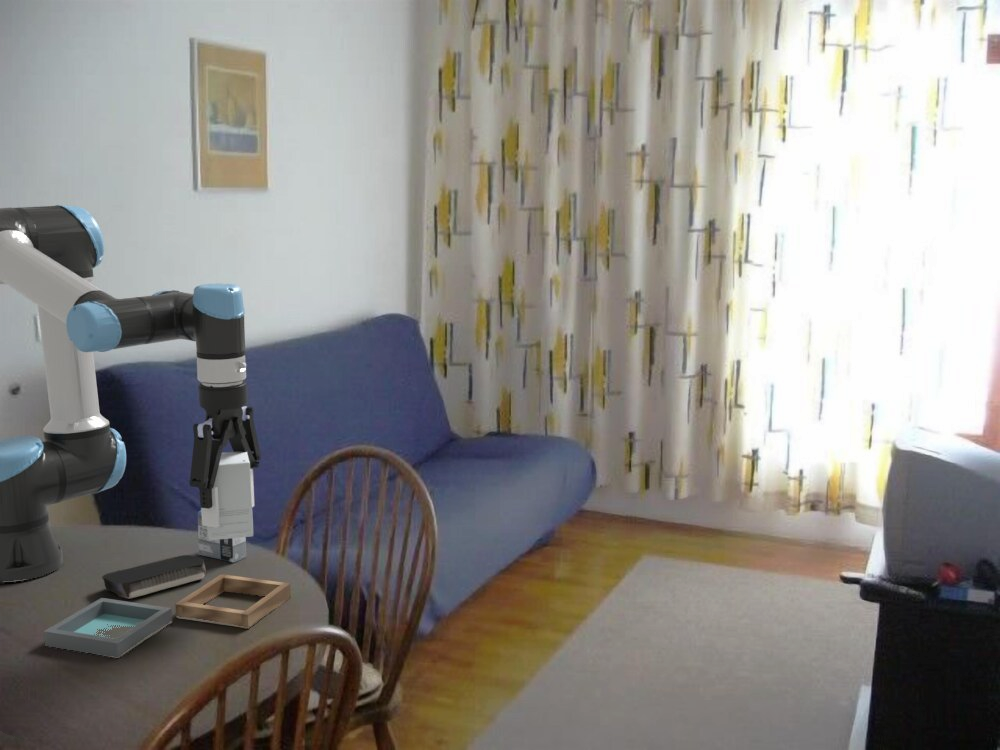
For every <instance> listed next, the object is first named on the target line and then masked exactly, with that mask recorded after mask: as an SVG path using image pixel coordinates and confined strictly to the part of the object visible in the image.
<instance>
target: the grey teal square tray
mask: <svg viewBox="0 0 1000 750" xmlns="http://www.w3.org/2000/svg"><path fill="white" fill-rule="evenodd" d="M170 621H172V622H173V612H172V607H166V606H160V605H153V604H145V603H138V602H132V601H127V600H126V601H125V600H121V599H120V600H119V599H113V598H107V597H106V598H105V597H100V598H99V599H97V600H95V601H93V602H91V603H90V604H88V605H87V606H85V607H83V608H81V609H80V610H78V611H76V612H74V613H73V614H71V615H70V616H67V617H66V618H63V619H62V620H61V621H59V622H57V623H56V624H54V625H52V626H50V627H47V629H45V630H44V631H43V638H44V647H45V646H49V647H48V648H51V647H56V648H55V649H57V648H62V649H61V650H63V649H67V650H66V651H69V650H74V651H73V652H75V651H80V652H79V653H81V652H88V653H92V654H100V655H106V656H114V657H119V656H121V655H122V654H123V653H124V652H126V651H127V650H128V649H130V648H131V647H133V646H134V645H136V644H137V643H138V642H140V641H141V640H143V639H144V638H145V637H147V636H148V635H150V634H151V633H153V632H155V631H157V630H158V629H160V628H161V627H163V626H164V625H166V624H168V623H169V622H170ZM136 622H137V623H138V622H139V623H140V622H141V623H140V624H138V625H137V624H136V625H137V626H136V625H135V623H136ZM107 624H108V625H107ZM111 625H112V626H113V625H114V626H115V625H116V627H117V625H118V627H119V625H120V627H121V626H122V627H123V626H124V627H125V626H126V627H127V626H128V627H129V626H130V627H131V626H132V627H133V626H134V628H132V629H130V630H129V631H127V632H126V633H124V634H123V635H121V636H120V637H118V638H116V639H114V638H110V637H109V638H108V637H105V636H106V635H105V636H104V635H103V634H102V633H103V631H102V633H101V634H99V636H97V635H98V634H97V633H98V632H99V631H98V630H99V629H100V630H101V629H102V630H103V629H104V628H105V629H106V628H107V629H106V631H107V630H108V629H109V630H110V629H111V630H112V626H111ZM108 626H109V627H108ZM110 626H111V627H110ZM114 626H113V628H114ZM116 627H115V628H116ZM118 627H117V628H118ZM120 627H119V628H120ZM97 629H98V630H97ZM105 629H104V631H105ZM109 630H108V631H109ZM97 631H98V632H97ZM96 632H97V633H96ZM100 632H101V631H100ZM104 633H105V632H104ZM94 634H95V635H94ZM96 634H97V635H96ZM100 635H101V636H100ZM102 635H103V636H102ZM107 636H108V635H107ZM109 636H110V635H109ZM92 654H91V655H92Z"/></svg>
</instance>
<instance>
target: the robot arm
mask: <svg viewBox="0 0 1000 750" xmlns="http://www.w3.org/2000/svg"><path fill="white" fill-rule="evenodd" d="M104 242H105V241H104V237H103V233H102V231H101V228H100V226H99V224H98V222H97V220H96V219H95V218H94V217H93V216H92V214H91V213H90V212H89V211H87V210H86V209H85V208H83V207H80V206H76V205H60V204H57V205H46V206H45V205H43V206H41V205H40V206H27V207H26V206H22V207H21V206H20V207H1V208H0V285H8V287H11V288H12V289H13V290H15V291H16V292H18V293H19V294H21V295H22V296H23V297H25V298H27V299H28V300H29V301H31V302H33V303H34V304H36V305H37V311H38V319H39V327H40V335H41V344H42V346H41V347H42V352H43V353H42V355H43V363H44V369H45V370H44V371H45V380H46V389H47V395H48V396H47V398H48V406H49V413H50V420H49V421H48V422H47V423H46V425H45V426H44V427H43V429H42V430H43V436H44V437H43V439H44V440H43V441H42V440H41V438H39V437H38V436H33V435H21V436H16V437H13V436H12V437H8V438H3V439H0V582H3V581H14V580H23V579H31V580H33V579H32V578H35V579H38V578H37V577H39V578H42V577H45V576H47V575H50V574H51V572H52V573H53V571H54V572H55V571H57V570H59V569H60V568H61V567H62V565H63V563H64V557H63V550H62V547H61V546H60V545H59V544H58V540H57V538H56V535H55V533H54V531H53V528H52V526H51V524H50V518H49V506H51V505H54V504H59V503H61V502H66V501H71V500H72V499H77V498H81V497H84V496H88V495H96V494H99V493H100V492H103V491H106V490H108V489H112V488H113V487H116V485H117V484H118V483H119V482H120V480H121V479H122V477H123V476H124V473H125V470H126V467H127V451H126V450H127V449H126V445H125V441H122V436H121V434H120V432H118V431H117V430H116V429H115V428H112V427H111V426H110V421H109V419H107V418H105V416H103V415H102V414H101V413H100V405H99V403H100V402H99V395H98V386H97V384H98V383H97V375H96V367H95V358H94V352H99V353H100V352H101V353H105V352H109V351H112V350H117V349H118V350H119V349H125V348H128V347H129V348H130V347H136V346H141V345H149V344H156V343H163V342H169V341H175V340H186V341H190V342H191V341H192V342H195V345H196V346H195V347H196V372H197V373H196V375H197V380H198V381H199V383H200V384H199V385H198V391H197V392H198V404H199V407H201V408H202V409H204V411H205V419H204V422H202V423H197V422H196V423H194V424H193V426H192V428H193V439H194V440H193V445H192V447H193V449H192V450H193V451H192V458H191V468H190V476H189V486H190V487H193V488H198V489H199V505H200V510H201V513H202V526H208V527H216V528H217V527H219V526H220V524H219V504H218V487H215V486H214V483H215V479H216V475H217V471H218V467H219V462H220V458H221V454H222V453H223V450H224V449H225V447H227V443H228V442H229V444H230V447H231V449H232V452H247V454H248V458H249V462H250V475H251V497H252V508H254V507H255V485H254V484H255V483H254V480H255V479H254V468H255V469H258V468H259V466H260V460H261V458H262V455H261V451H260V450H261V449H260V445H259V441H258V436H257V431H256V426H255V422H254V408H253V406H246V405H247V404H248V384H247V383H246V381H244V380H245V379H247V363H246V362H247V361H246V332H245V331H246V330H245V313H246V310H245V307H244V300H243V290H242V289H241V287H240V286H238V285H236V284H232V283H223V282H222V283H218V282H217V283H205V284H204V283H203V284H199V285H197V286H196V287H194V289H193V293H190V292H189V293H188V292H184V291H179V290H174V289H173V290H159V291H157V292H154V293H153V294H152V295H144V296H135V297H127V298H116V297H114V296H112V295H111V294H110V293H109V294H108V293H107V292H105V291H104V290H103V289H100V288H99V287H97V286H96V285H94V284H92V283H91V282H92V281H93V280H94V270H93V269H95V268H96V267H97V266H99V265H100V264H101V263H102V262H103V256H104V255H105V243H104ZM49 573H50V574H49ZM46 574H47V575H46ZM44 575H45V576H44ZM41 576H42V577H41Z"/></svg>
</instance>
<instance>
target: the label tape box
mask: <svg viewBox="0 0 1000 750" xmlns="http://www.w3.org/2000/svg"><path fill="white" fill-rule="evenodd" d="M197 533H198V534H197V535H198V536H197V538H198V539H197V540H198V555H199V556H203V557H208V558H212V559H217V560H221V561H226V562H230V563H236V562H239V561H241V560H243V559H246V558H247V540H246V539H247V537H240V538H230V539H219V540H210V541H209V540H208V534H207V526H202V513H201V509H200V510H199V511H198V512H197Z"/></svg>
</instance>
